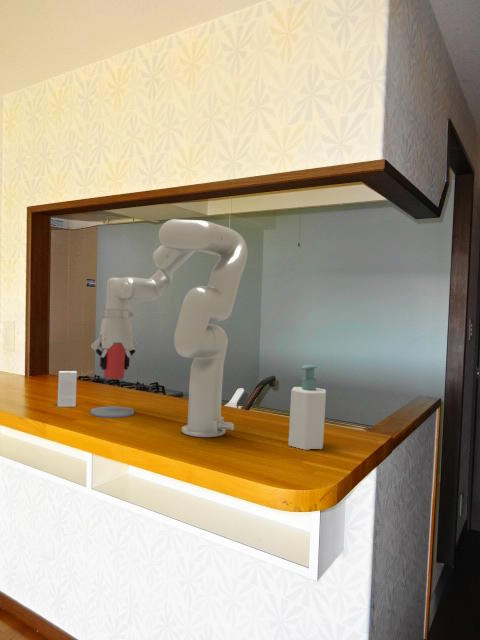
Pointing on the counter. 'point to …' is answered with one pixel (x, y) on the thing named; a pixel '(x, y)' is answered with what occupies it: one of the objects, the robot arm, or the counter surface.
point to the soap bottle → (307, 413)
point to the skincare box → (67, 388)
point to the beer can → (115, 362)
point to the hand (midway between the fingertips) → (114, 368)
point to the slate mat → (112, 412)
